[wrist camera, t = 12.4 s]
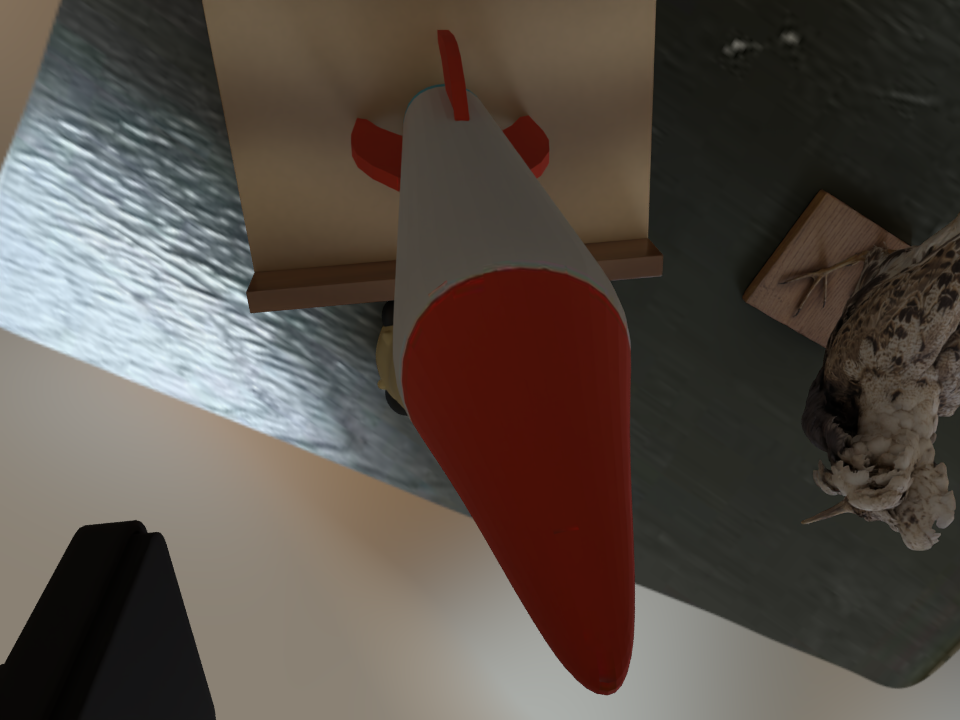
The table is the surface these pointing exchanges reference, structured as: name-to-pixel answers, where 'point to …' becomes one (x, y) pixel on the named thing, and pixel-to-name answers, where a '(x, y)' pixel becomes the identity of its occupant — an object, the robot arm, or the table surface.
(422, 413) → the toy rocket
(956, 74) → the table surface
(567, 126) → the rack
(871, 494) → the stuffed bird
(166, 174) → the table surface
